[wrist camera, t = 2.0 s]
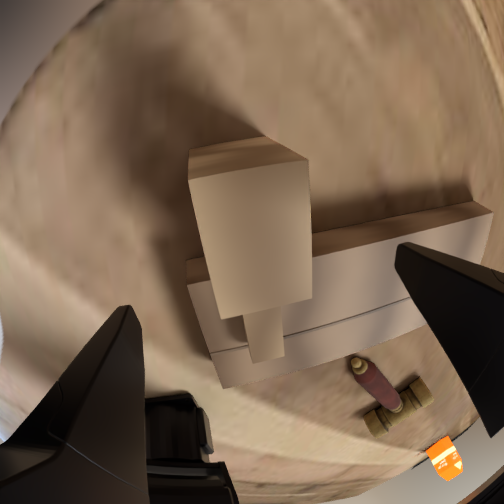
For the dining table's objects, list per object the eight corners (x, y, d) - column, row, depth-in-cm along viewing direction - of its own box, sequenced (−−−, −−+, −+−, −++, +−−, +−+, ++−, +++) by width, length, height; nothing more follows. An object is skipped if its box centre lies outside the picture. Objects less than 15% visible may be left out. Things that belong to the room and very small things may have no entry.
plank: (218, 364, 22) (223, 389, 20) (186, 260, 17) (186, 285, 15) (451, 290, 25) (466, 304, 23) (473, 200, 20) (494, 212, 18)
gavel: (318, 406, 24) (408, 345, 22) (305, 371, 28) (385, 315, 26) (380, 441, 33) (436, 403, 32) (369, 419, 37) (422, 382, 36)
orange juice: (448, 435, 83) (466, 468, 66) (434, 446, 86) (451, 478, 69) (439, 440, 80) (459, 474, 63) (425, 451, 83) (443, 484, 66)
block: (227, 322, 20) (242, 392, 15) (188, 149, 14) (187, 180, 9) (282, 310, 21) (309, 375, 16) (265, 136, 14) (308, 159, 9)
